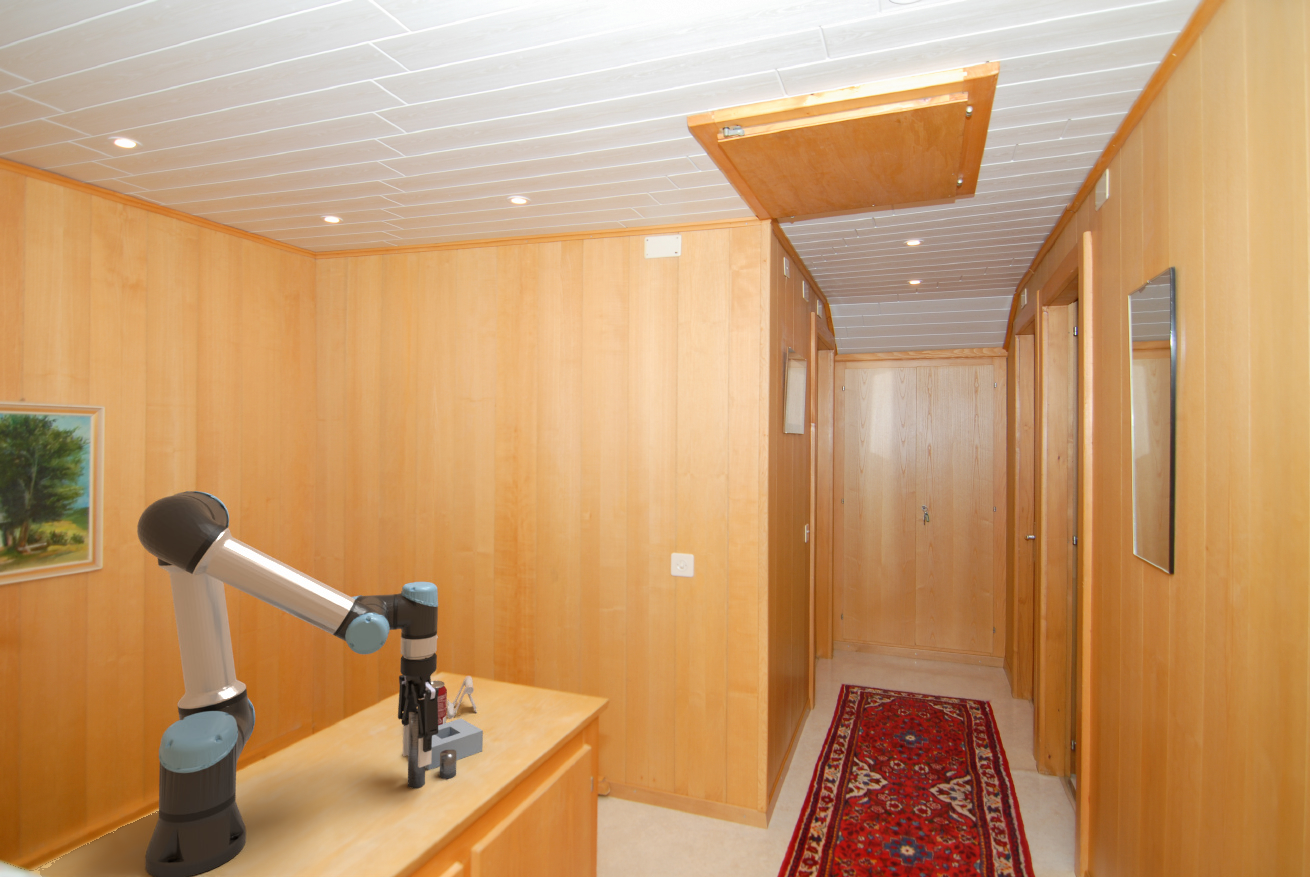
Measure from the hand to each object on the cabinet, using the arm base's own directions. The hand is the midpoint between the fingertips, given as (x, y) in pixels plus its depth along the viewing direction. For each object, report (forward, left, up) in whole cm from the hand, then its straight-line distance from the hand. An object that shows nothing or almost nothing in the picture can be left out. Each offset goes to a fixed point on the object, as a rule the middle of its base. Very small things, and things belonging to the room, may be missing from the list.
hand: (416, 759), depth 150 cm
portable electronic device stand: (+28, +29, -6) cm, 41 cm away
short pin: (+7, -1, -6) cm, 9 cm away
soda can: (+16, +23, -6) cm, 29 cm away
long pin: (0, 0, -5) cm, 5 cm away
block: (+12, +9, -5) cm, 16 cm away
